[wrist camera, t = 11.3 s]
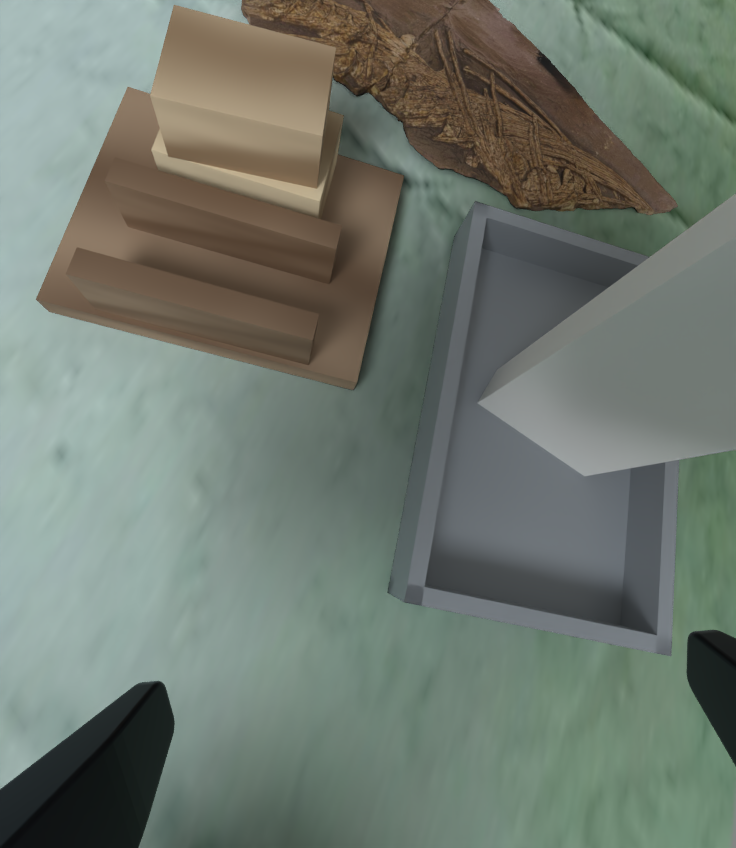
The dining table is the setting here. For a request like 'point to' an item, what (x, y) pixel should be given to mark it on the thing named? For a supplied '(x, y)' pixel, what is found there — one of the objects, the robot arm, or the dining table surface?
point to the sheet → (637, 362)
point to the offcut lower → (261, 187)
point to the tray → (527, 461)
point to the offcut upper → (243, 97)
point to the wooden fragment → (474, 98)
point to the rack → (224, 259)
